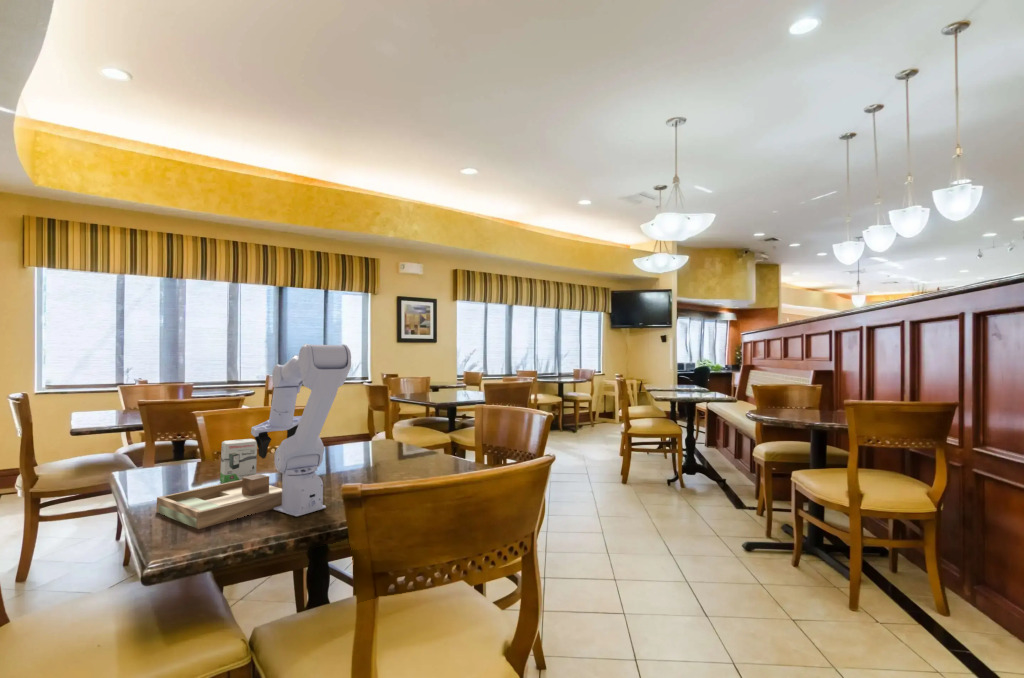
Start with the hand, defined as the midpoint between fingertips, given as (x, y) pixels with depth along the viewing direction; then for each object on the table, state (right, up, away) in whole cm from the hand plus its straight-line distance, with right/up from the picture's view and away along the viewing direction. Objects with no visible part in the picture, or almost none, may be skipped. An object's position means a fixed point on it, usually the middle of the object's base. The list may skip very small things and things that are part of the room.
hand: (275, 452), depth 132 cm
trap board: (-5, -10, -12) cm, 17 cm away
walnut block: (-2, -9, -7) cm, 11 cm away
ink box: (-17, -11, +12) cm, 23 cm away
